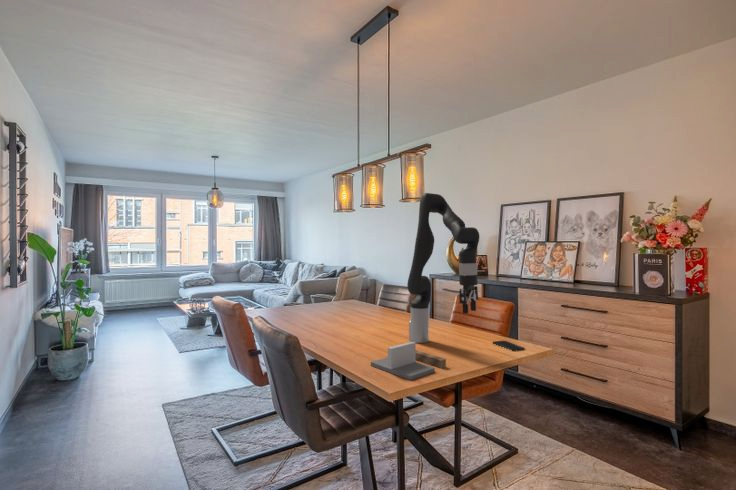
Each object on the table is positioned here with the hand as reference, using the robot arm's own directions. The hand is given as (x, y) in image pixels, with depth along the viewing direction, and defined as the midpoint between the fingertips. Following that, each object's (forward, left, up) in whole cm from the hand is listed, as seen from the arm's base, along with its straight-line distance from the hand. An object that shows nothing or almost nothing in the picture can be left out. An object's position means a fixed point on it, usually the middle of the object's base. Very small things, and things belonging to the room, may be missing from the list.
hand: (469, 312), depth 166 cm
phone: (-1, +34, -22) cm, 40 cm away
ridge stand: (-12, -29, -21) cm, 38 cm away
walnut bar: (-12, -15, -21) cm, 29 cm away
